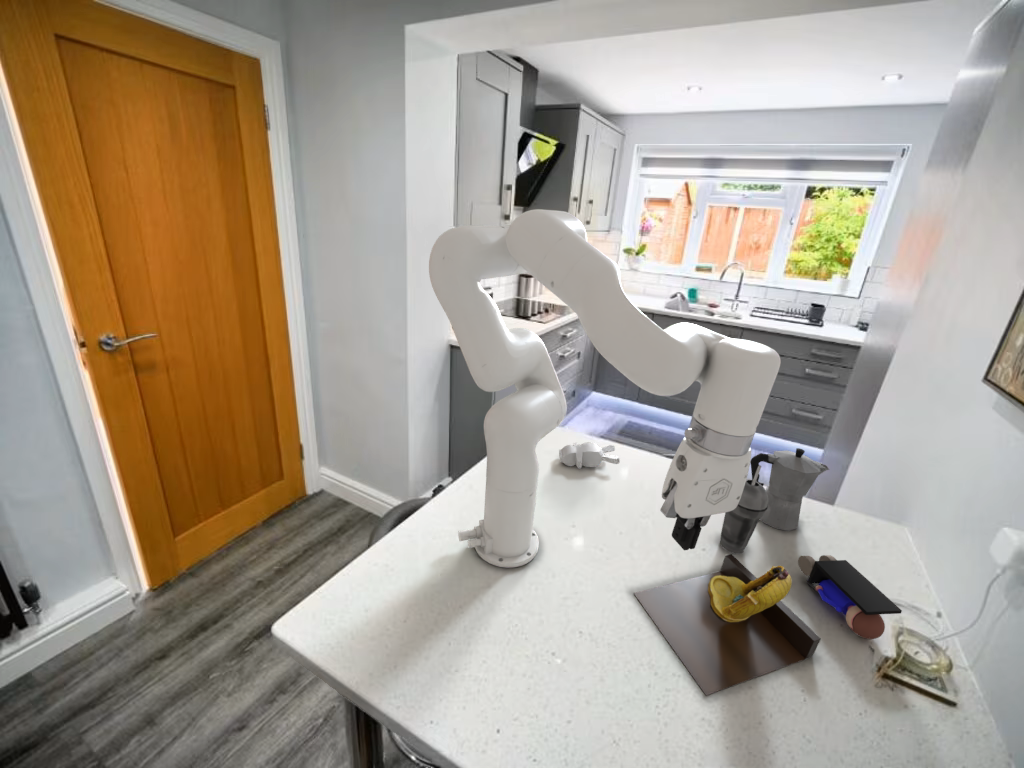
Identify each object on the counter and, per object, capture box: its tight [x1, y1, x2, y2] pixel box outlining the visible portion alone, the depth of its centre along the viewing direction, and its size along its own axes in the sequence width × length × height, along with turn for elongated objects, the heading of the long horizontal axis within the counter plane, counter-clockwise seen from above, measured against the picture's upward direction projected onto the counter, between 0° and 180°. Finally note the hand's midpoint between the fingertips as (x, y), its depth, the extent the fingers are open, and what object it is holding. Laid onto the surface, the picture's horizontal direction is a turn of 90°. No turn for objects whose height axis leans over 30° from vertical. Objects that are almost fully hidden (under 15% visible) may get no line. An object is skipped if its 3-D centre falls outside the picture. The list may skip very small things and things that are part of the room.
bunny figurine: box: [558, 441, 621, 469], centre depth 114 cm, size 10×5×15 cm
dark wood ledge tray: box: [633, 553, 822, 696], centre depth 71 cm, size 21×18×4 cm
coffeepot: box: [750, 447, 830, 531], centre depth 96 cm, size 15×9×18 cm, turn 79°
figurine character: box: [797, 554, 903, 640], centre depth 76 cm, size 7×8×15 cm
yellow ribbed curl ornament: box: [708, 565, 793, 624], centre depth 71 cm, size 12×8×15 cm
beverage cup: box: [719, 464, 768, 555], centre depth 86 cm, size 7×7×20 cm
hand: (682, 542), depth 64 cm, fingers closed
